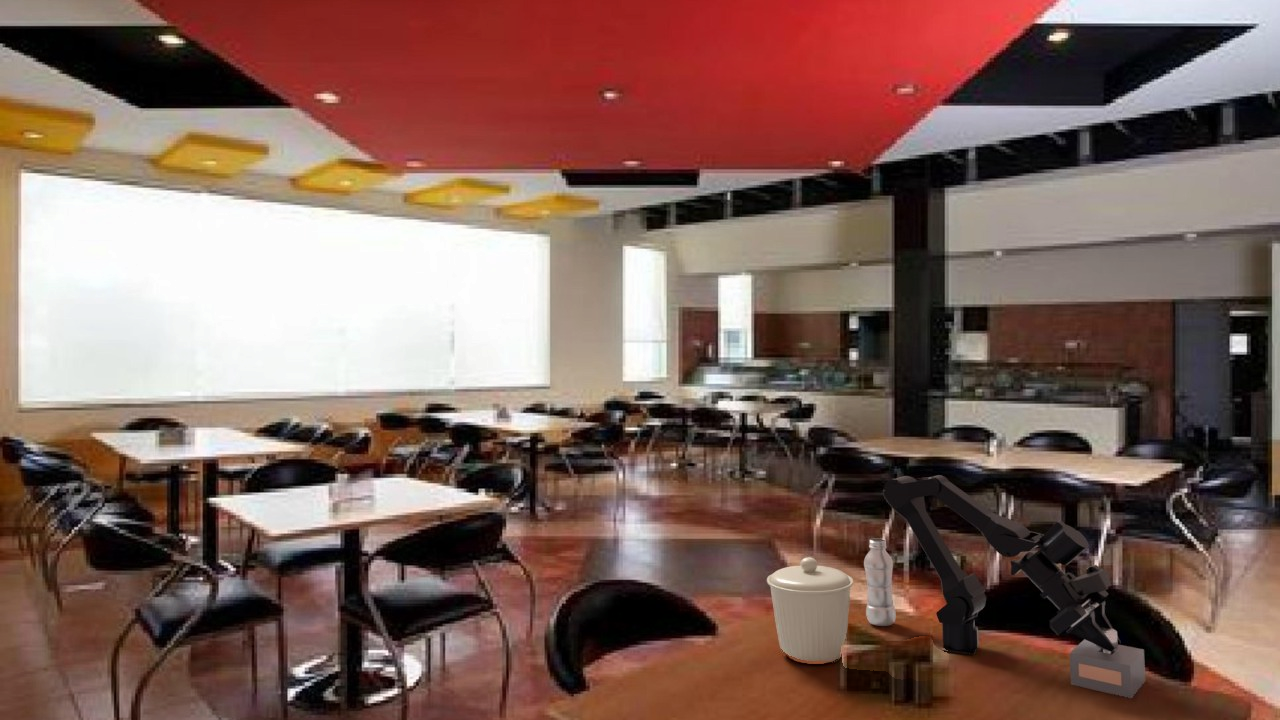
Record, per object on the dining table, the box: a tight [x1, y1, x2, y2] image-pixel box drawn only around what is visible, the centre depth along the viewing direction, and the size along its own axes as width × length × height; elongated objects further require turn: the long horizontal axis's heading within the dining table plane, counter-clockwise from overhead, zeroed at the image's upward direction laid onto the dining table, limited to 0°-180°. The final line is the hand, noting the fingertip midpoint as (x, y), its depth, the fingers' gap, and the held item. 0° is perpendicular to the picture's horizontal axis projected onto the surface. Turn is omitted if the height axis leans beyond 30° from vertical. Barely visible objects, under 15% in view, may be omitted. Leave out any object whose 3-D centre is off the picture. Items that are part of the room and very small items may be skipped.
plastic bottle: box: [863, 538, 897, 627], centre depth 188 cm, size 6×7×20 cm
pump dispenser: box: [1069, 639, 1146, 699], centre depth 151 cm, size 10×10×6 cm
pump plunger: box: [1096, 628, 1119, 654], centre depth 151 cm, size 4×4×9 cm
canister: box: [766, 556, 854, 661], centre depth 170 cm, size 18×18×21 cm
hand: (1115, 646), depth 150 cm, fingers closed on pump plunger, 4 cm apart
